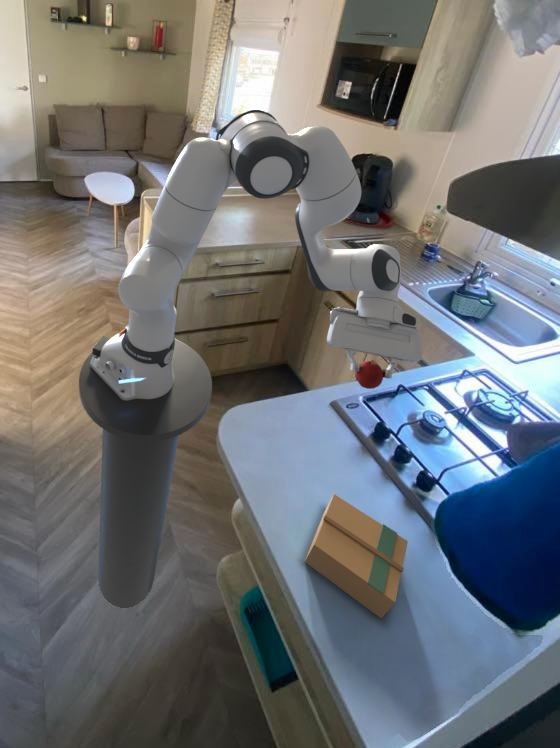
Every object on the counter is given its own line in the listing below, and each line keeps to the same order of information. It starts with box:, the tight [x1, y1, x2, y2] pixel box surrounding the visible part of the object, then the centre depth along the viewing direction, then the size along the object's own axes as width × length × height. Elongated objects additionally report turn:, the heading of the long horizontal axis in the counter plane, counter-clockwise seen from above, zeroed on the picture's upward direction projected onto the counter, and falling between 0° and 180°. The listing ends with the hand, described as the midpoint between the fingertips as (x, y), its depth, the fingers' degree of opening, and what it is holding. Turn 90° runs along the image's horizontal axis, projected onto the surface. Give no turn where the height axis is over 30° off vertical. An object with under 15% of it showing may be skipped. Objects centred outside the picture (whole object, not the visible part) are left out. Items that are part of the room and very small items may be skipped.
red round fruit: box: [354, 359, 384, 390], centre depth 95 cm, size 6×6×8 cm
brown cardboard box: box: [304, 493, 408, 619], centre depth 73 cm, size 13×11×6 cm
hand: (370, 374), depth 95 cm, fingers closed on red round fruit, 5 cm apart
